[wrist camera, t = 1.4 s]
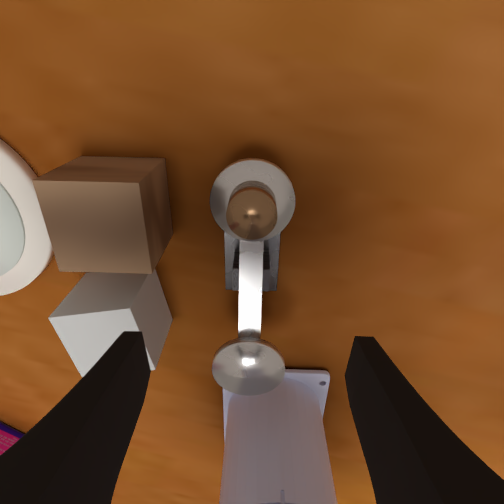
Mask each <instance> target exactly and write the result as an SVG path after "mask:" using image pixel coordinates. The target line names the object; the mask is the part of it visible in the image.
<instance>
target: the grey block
mask: <svg viewBox="0 0 504 504" xmlns="http://www.w3.org/2000/svg"><path fill="white" fill-rule="evenodd" d="M49 320H50V322H51V323H52V325H53V327H54V329H55V331H56V332H57V334H58V336H59V338H60V339H61V341H62V343H63V345H64V346H65V348H66V350H67V352H68V353H69V355H70V357H71V359H72V360H73V362H74V364H75V366H76V367H77V369H78V371H79V373H80V374H81V376H82V377H84V375H85V374H86V373H87V372H88V371H89V370H90V369H91V368H92V367H93V366H94V365H95V363H96V362H97V361H98V360H99V359H100V358H101V357H102V355H103V354H104V353H105V352H106V351H107V350H108V348H109V347H110V346H111V345H112V344H113V343H114V341H115V340H116V339H117V338H118V337H119V336H120V334H121V333H122V332H124V331H142V334H143V338H144V343H145V347H146V352H147V356H148V361H149V365H150V370H155V369H156V366H157V363H158V361H159V358H160V355H161V352H162V349H163V346H164V343H165V340H166V337H167V334H168V332H169V329H170V326H171V323H172V320H173V319H172V316H171V313H170V310H169V308H168V305H167V302H166V299H165V296H164V293H163V290H162V287H161V284H160V281H159V278H158V276H157V273H156V270H155V269H154V271H153V273H152V274H138V273H102V272H89V273H86V274H85V275H84V276H83V277H82V278H81V280H80V281H79V282H78V283H77V284H76V286H75V287H74V288H73V289H72V290H71V292H70V293H69V294H68V295H67V296H66V297H65V299H64V300H63V301H62V302H61V303H60V305H59V306H58V307H57V308H56V309H55V310H54V312H53V313H52V314H51V315H50V316H49Z"/></svg>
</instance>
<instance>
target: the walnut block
mask: <svg viewBox="0 0 504 504" xmlns="http://www.w3.org/2000/svg"><path fill="white" fill-rule="evenodd" d="M32 182H33V186H34V189H35V192H36V195H37V199H38V202H39V205H40V209H41V212H42V215H43V219H44V222H45V225H46V228H47V232H48V235H49V238H50V242H51V245H52V248H53V252H54V255H55V258H56V261H57V265H58V268H59V271H65V272H102V273H138V274H152V273H153V271H154V269H155V267H156V265H157V264H158V262H159V260H160V258H161V256H162V254H163V252H164V250H165V248H166V247H167V245H168V243H169V241H170V239H171V237H172V235H173V229H172V219H171V210H170V200H169V191H168V181H167V172H166V162H165V158H141V157H98V156H80V157H78V158H76V159H74V160H72V161H70V162H68V163H66V164H64V165H62V166H60V167H58V168H56V169H54V170H52V171H50V172H48V173H46V174H44V175H42V176H40V177H38V178H36V179H34V180H32Z"/></svg>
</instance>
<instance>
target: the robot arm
mask: <svg viewBox="0 0 504 504" xmlns="http://www.w3.org/2000/svg"><path fill="white" fill-rule="evenodd" d="M150 372H151V370H150V365H149V361H148V356H147V352H146V347H145V343H144V338H143V334H142V331H124V332H122V333H121V334H120V336H119V337H118V338H117V339H116V340H115V341H114V343H113V344H112V345H111V346H110V347H109V348H108V350H107V351H106V352H105V353H104V354H103V355H102V357H101V358H100V359H99V360H98V361H97V362H96V363H95V365H94V366H93V367H92V368H91V369H90V370H89V371H88V372H87V373H86V374H85V375H84V377H83V378H82V379H81V380H80V381H79V382H78V383H77V384H76V385H75V386H74V387H73V388H72V390H71V391H70V392H69V393H68V394H67V395H66V396H65V397H64V398H63V399H62V400H61V401H60V402H59V403H58V404H57V405H56V406H55V407H54V408H53V409H52V410H51V411H50V412H49V413H48V414H47V415H45V416H44V417H43V418H42V419H41V420H40V421H39V422H38V423H37V424H36V425H35V426H34V427H33V428H32V429H30V430H29V431H28V432H27V433H26V434H25V435H24V436H23V437H21V438H20V439H19V440H18V441H17V442H16V443H15V444H13V445H12V446H11V447H10V448H9V449H7V450H6V451H5V452H4V453H3V454H1V455H0V504H111V500H112V496H113V492H114V489H115V485H116V482H117V478H118V475H119V472H120V469H121V466H122V463H123V460H124V457H125V455H126V452H127V449H128V446H129V443H130V440H131V437H132V435H133V432H134V429H135V426H136V423H137V420H138V417H139V414H140V411H141V409H142V406H143V403H144V399H145V395H146V391H147V386H148V382H149V377H150ZM345 380H346V386H347V392H348V398H349V403H350V408H351V411H352V415H353V418H354V422H355V426H356V429H357V432H358V436H359V439H360V443H361V446H362V450H363V453H364V456H365V460H366V463H367V467H368V470H369V474H370V477H371V481H372V485H373V489H374V493H375V498H376V503H377V504H504V480H503V479H502V478H501V477H500V476H498V475H497V474H496V473H495V472H494V471H493V470H492V469H491V468H489V467H488V466H487V465H486V464H485V463H484V462H483V461H482V460H481V459H480V458H479V457H478V456H477V455H476V454H475V453H474V452H472V451H471V450H470V449H469V448H468V447H467V446H466V445H465V444H464V443H463V442H462V441H461V440H460V439H459V438H458V437H457V436H456V435H455V434H454V433H453V432H452V430H451V429H450V428H449V427H448V426H447V425H446V424H445V423H444V422H443V421H442V420H441V419H440V418H439V416H438V415H437V414H436V413H435V412H434V411H433V410H432V409H431V408H430V407H429V405H428V404H427V403H426V402H425V401H424V400H423V399H422V397H421V396H420V395H419V394H418V393H417V391H416V390H415V389H414V388H413V387H412V385H411V384H410V383H409V382H408V381H407V379H406V378H405V377H404V376H403V374H402V373H401V372H400V371H399V369H398V368H397V367H396V365H395V364H394V363H393V362H392V360H391V359H390V358H389V356H388V355H387V354H386V352H385V351H384V350H383V349H382V347H381V346H380V345H379V343H378V342H377V341H376V339H375V338H374V337H362V336H355V338H354V342H353V346H352V350H351V354H350V357H349V361H348V365H347V369H346V373H345ZM321 381H322V382H321ZM329 382H330V374H329V372H327V371H325V370H298V369H285V375H284V378H283V380H282V382H281V383H280V384H279V385H278V386H277V387H276V388H275V389H273V390H271V391H269V392H267V393H264V394H261V395H254V396H245V395H238V394H235V393H232V392H229V391H227V390H226V389H224V388H223V411H224V441H225V447H224V458H223V468H222V479H221V490H220V501H219V504H337V499H336V494H335V488H334V482H333V477H332V471H331V465H330V460H329V454H328V448H327V443H326V437H325V431H324V426H323V420H322V419H323V414H324V409H325V403H326V398H327V393H328V388H329Z"/></svg>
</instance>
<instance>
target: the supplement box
mask: <svg viewBox="0 0 504 504" xmlns="http://www.w3.org/2000/svg"><path fill="white" fill-rule="evenodd" d="M24 435H25V434H24V433H21V432H19V431H17V430H15V429H13V428H11V427H9V426H7V425H6V424H4V423H2V422H0V455H1V454H3V453H4V452H5V451H6V450H7V449H9V448H10V447H11V446H12V445H13V444H15V443H16V442H17V441H18V440H19V439H20V438H21V437H23V436H24Z"/></svg>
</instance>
